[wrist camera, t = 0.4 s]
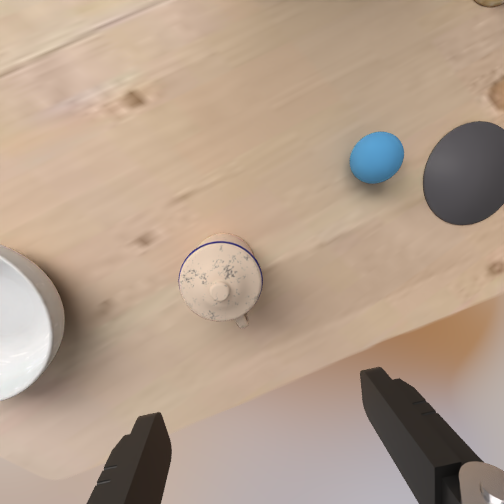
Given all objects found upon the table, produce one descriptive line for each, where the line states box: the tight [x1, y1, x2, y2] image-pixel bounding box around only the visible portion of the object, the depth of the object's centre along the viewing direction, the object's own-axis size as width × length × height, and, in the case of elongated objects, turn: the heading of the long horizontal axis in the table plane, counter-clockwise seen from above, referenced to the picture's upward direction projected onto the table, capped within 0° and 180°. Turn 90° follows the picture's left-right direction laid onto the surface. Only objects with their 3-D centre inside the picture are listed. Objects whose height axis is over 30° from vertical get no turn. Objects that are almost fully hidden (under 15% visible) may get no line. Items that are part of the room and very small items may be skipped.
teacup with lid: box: [179, 233, 263, 328], centre depth 30 cm, size 12×9×12 cm
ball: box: [350, 132, 404, 184], centre depth 31 cm, size 6×6×6 cm
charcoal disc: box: [423, 121, 504, 225], centre depth 35 cm, size 14×14×1 cm
